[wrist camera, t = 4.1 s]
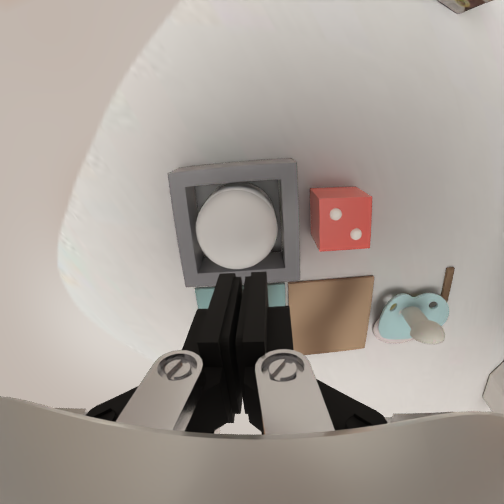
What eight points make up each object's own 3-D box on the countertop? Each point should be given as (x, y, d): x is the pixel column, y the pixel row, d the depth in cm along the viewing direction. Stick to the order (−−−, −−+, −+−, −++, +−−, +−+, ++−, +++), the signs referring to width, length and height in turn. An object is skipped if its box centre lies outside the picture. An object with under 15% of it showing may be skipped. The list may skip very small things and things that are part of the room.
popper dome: (272, 179, 21) (277, 193, 16) (276, 248, 23) (282, 280, 18) (199, 185, 21) (182, 201, 17) (207, 252, 23) (195, 286, 19)
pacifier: (425, 335, 27) (442, 285, 25) (450, 376, 22) (476, 323, 19) (362, 341, 27) (376, 287, 25) (381, 388, 22) (403, 331, 19)
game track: (452, 267, 24) (454, 268, 24) (437, 333, 27) (438, 335, 27) (195, 287, 25) (194, 289, 25) (209, 357, 28) (208, 359, 27)
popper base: (355, 156, 21) (374, 162, 17) (353, 258, 24) (368, 280, 20) (178, 167, 21) (163, 175, 18) (193, 269, 24) (183, 293, 21)
